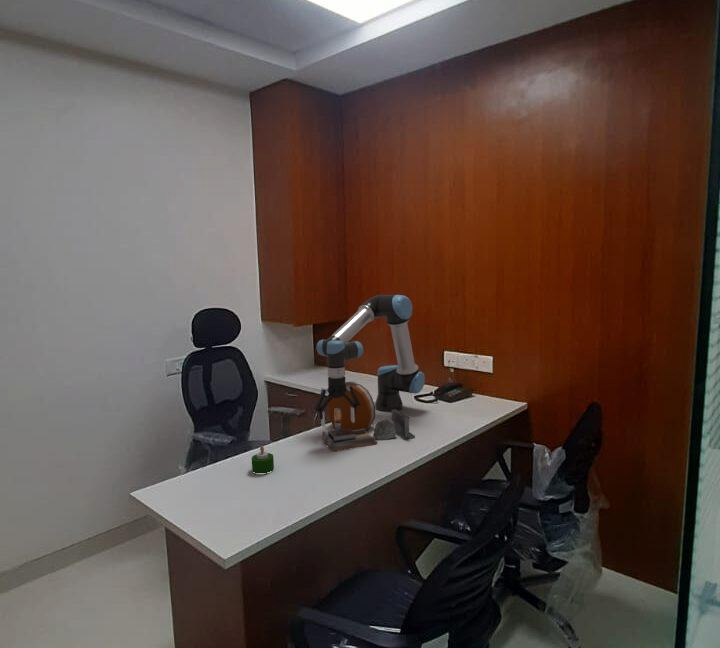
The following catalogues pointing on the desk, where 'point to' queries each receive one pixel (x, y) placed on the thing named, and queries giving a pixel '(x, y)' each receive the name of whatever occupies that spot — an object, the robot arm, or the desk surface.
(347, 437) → the ram
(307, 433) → the desk surface
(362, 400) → the alarm clock
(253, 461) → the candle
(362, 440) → the brown shallow box
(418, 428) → the desk surface
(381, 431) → the stone
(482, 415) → the desk surface
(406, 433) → the angle bracket
